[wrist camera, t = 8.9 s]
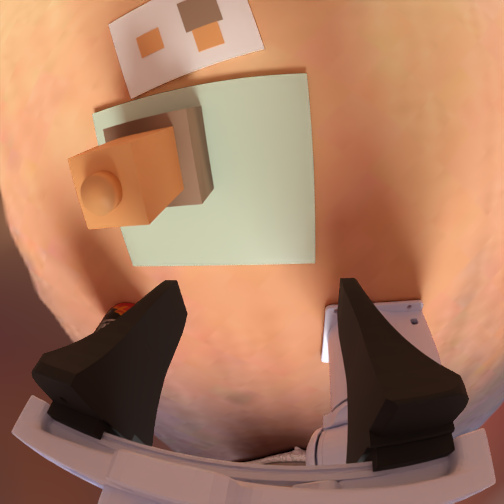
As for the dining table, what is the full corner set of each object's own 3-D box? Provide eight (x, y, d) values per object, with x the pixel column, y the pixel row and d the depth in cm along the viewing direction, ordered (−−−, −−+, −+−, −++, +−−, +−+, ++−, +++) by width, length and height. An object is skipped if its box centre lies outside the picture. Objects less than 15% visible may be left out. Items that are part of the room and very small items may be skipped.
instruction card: (234, -31, 12) (233, -33, 11) (264, 49, 15) (264, 48, 15) (109, 24, 14) (107, 24, 14) (132, 98, 18) (130, 99, 17)
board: (306, 73, 16) (306, 73, 15) (314, 260, 23) (315, 263, 22) (95, 113, 18) (92, 114, 18) (135, 263, 25) (133, 266, 25)
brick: (173, 126, 15) (120, 146, 10) (184, 189, 17) (142, 232, 12) (117, 138, 16) (57, 163, 11) (130, 195, 18) (80, 236, 13)
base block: (201, 105, 17) (186, 108, 15) (214, 188, 20) (202, 204, 18) (125, 122, 18) (102, 129, 16) (141, 196, 21) (122, 211, 19)
